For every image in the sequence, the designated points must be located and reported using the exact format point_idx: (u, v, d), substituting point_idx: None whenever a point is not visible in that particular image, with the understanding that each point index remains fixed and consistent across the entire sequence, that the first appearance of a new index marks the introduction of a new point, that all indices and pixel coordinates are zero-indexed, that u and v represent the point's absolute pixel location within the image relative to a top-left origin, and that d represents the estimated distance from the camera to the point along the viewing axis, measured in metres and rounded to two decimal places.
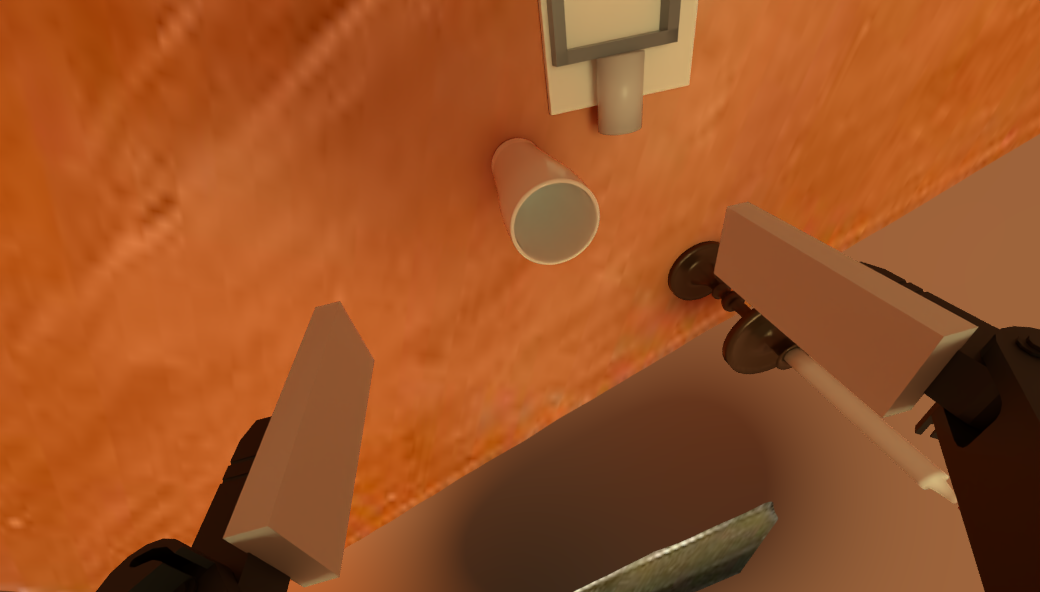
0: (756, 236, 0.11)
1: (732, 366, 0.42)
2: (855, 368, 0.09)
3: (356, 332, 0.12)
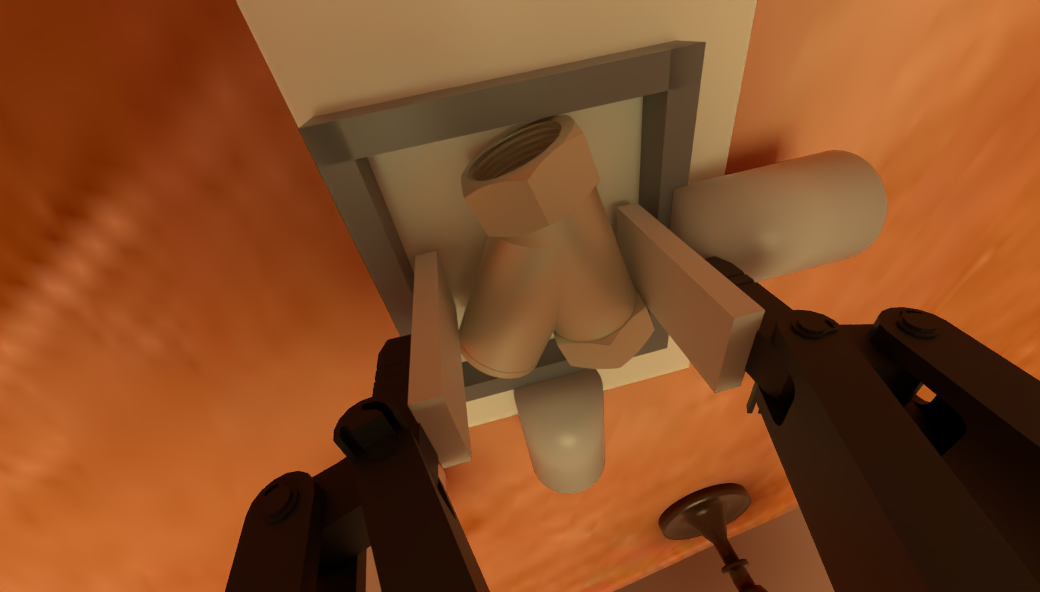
0: (635, 234, 0.13)
1: None
2: (696, 350, 0.10)
3: (445, 281, 0.14)
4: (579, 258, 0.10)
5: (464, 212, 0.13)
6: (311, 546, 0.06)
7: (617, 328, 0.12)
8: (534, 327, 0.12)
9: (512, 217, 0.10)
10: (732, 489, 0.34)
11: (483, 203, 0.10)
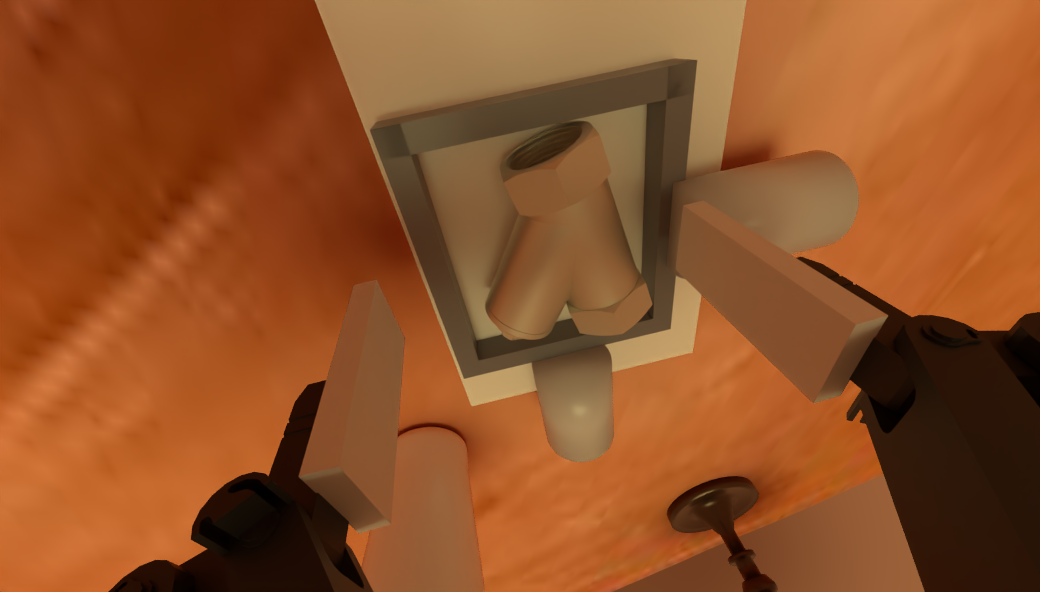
0: (707, 234, 0.12)
1: None
2: (790, 357, 0.10)
3: (390, 310, 0.13)
4: (592, 235, 0.13)
5: (494, 202, 0.15)
6: None
7: (620, 298, 0.15)
8: (551, 293, 0.14)
9: (541, 199, 0.12)
10: (739, 482, 0.35)
11: (518, 187, 0.12)
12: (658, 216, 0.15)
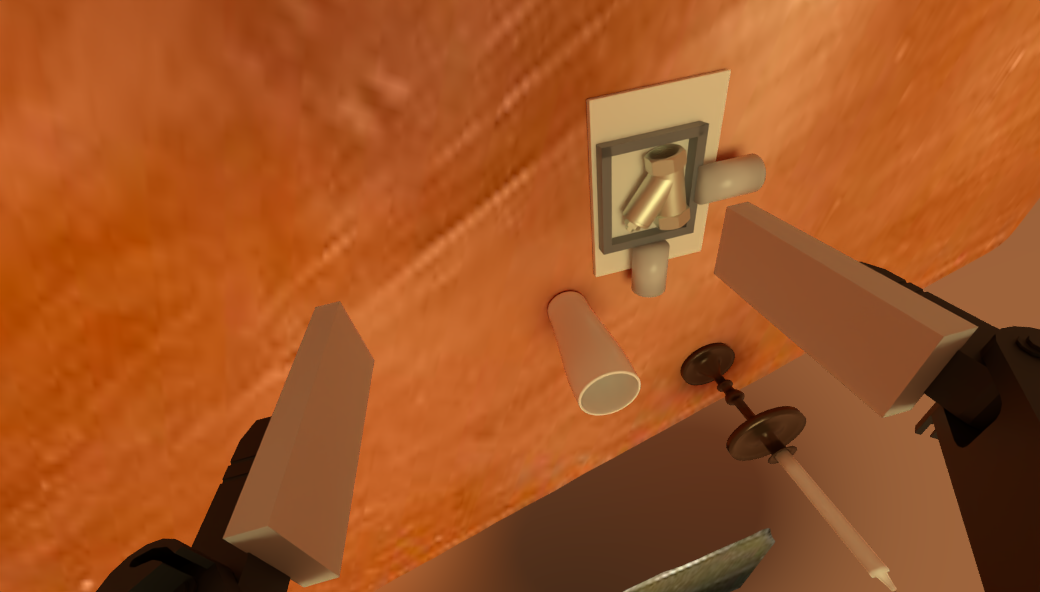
0: (755, 236, 0.11)
1: (734, 456, 0.53)
2: (855, 368, 0.09)
3: (356, 332, 0.12)
4: (677, 185, 0.37)
5: (628, 174, 0.39)
6: None
7: (681, 212, 0.39)
8: (657, 207, 0.38)
9: (664, 170, 0.36)
10: (723, 345, 0.60)
11: (657, 165, 0.36)
12: (692, 179, 0.39)
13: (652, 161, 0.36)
